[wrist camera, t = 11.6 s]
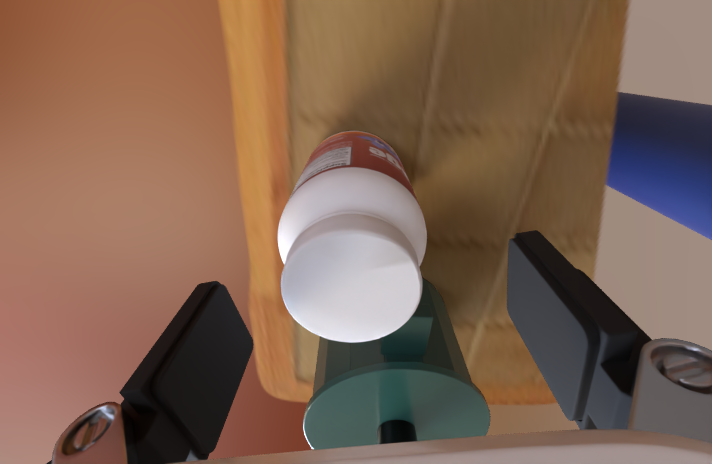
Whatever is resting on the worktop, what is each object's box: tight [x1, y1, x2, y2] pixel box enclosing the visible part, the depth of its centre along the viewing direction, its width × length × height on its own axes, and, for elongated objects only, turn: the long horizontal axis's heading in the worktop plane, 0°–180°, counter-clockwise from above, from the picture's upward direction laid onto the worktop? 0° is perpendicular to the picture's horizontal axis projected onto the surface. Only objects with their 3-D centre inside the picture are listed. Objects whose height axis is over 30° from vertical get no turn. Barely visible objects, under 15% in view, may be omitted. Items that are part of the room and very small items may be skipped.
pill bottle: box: [278, 131, 427, 342], centre depth 15 cm, size 6×6×11 cm
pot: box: [313, 278, 472, 395], centre depth 22 cm, size 10×15×8 cm, turn 178°
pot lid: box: [303, 361, 490, 450], centre depth 17 cm, size 11×11×5 cm
